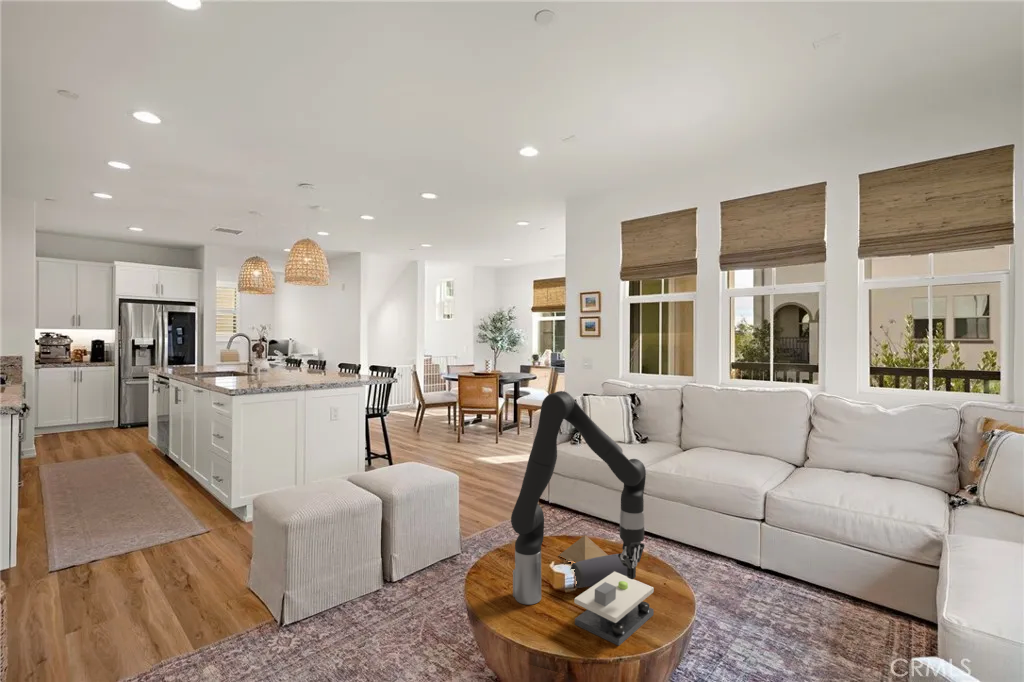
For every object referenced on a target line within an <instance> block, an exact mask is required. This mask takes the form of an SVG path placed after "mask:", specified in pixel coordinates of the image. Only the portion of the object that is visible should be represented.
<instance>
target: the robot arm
mask: <svg viewBox="0 0 1024 682" xmlns="http://www.w3.org/2000/svg"><path fill="white" fill-rule="evenodd" d="M541 403H542V404H541V405H540V413H539V418H538V426H537V429H536V432H535V436H534V440H533V442H532V443H533V444H532V447H531V451H530V453H529V457H528V461H527V465H526V469H525V473H524V477H523V480H522V484H521V488H520V491H519V495H518V497H517V499H516V503H515V505H514V508H513V509H512V512H511V515H510V523H511V527H512V529H513V531H514V532H515V533H517V535H518V536H517V538H516V540H515V542H514V569H513V570H512V597H513V598H515V600H516V602H517V603H519V604H522V605H534V604H537V603H539V602H541V600H542V545H543V542H544V538H545V537H544V536H545V535H544V534H545V533H544V532H545V516H544V515H545V514H544V511H543V508H542V507H541V506H540V504H538V503H539V501H540V499H541V496H542V495H543V493H544V492H545V489H546V488H547V486H548V484H549V483H550V481H551V479H552V477H553V474H554V470H555V467H556V464H557V461H558V460H557V459H558V446H557V445H558V444H557V442H558V436H559V432H560V430H561V426H562V423H563V422H564V420H565V421H567V422H568V423H569V424H571V425H572V426H573V427H574V428H575V429H576V430H577V431H578V432H579V434H580V436H581V437H582V438H583V440H584V442H585V443H586V444H587V446H588V448H590V450H591V451H592V452H593V453H594V454H596V455H597V456H598V457H599V458H600V460H602V461H603V462H604V463H606V464H607V466H608V467H609V469H610V471H611V472H612V473H613V474H614V475H615V477H617V479H618V480H619V481H620V482H621V483H622V484H623V489H622V491H621V493H620V494H621V495H620V513H619V538H620V539H621V540H622V542H623V543H622V551H621V552H620V553H622V554H620V553H617V554H618V557H619V559H620V561H621V563H622V564H623V566H626V567H627V577H628V578H630V579H634V580H635V579H636V575H637V571H636V570H637V569H636V568H637V567H638V563H640V561H641V559H642V555H643V552H644V549H645V544H644V543H642V542H643V541H644V540H645V512H644V508H645V507H644V505H645V504H644V502H645V501H644V500H645V499H644V491H645V486H646V478H647V477H646V475H647V474H646V473H647V471H646V467H645V464H644V463H643V461H642V460H640V459H638V458H631V459H629V458H628V457H626V455H625V454H624V453H623V448H622V447H621V446H620V445H619V444H618V443H617V442H616V441H614V439H613V438H611V437H610V436H609V434H607V433H606V432H605V431H604V430H602V429H601V428H600V427H599V426H598V425H597V423H595V421H594V420H593V419H591V417H590V416H589V415H588V414H587V413H586V412H585V410H584V409H583V408H582V407H581V406H580V405H579V404H578V402H577V401H576V399H575V398H573V396H572V395H571V394H569V393H568V392H567V391H562V390H561V391H560V390H559V391H555V392H553V393H549V394H547V395H546V396H545V398H544V399H543V401H542V402H541Z"/></svg>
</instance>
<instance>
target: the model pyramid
mask: <svg viewBox="0 0 1024 682" xmlns="http://www.w3.org/2000/svg"><path fill="white" fill-rule="evenodd" d="M607 555H608V553H606V552H605V551H604V550H603V549H602V548H600V546H599V545H597V544H596V542H594V541H592V540H591V539H590V538H589V537H588V535H586V534H584V535H582V537H580V538H579V539H578V540H577V541H575V542H574V543H572V544H571V545H570V546H568V547H567V548H566V549H565V550H563V551H562V552H561V553H560V554H558V555H557V557H558V556H561V557H563V558H565V559H566V560H567V561H574V562H579V561H583V560H587V559H591V558H596V557H601V556H607ZM566 560H565V561H566ZM567 561H566V562H567Z"/></svg>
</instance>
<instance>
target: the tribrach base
mask: <svg viewBox="0 0 1024 682" xmlns="http://www.w3.org/2000/svg"><path fill="white" fill-rule="evenodd" d="M654 611H655V610H654V608H652V607H650V604H649V602H646V601H642V602H641V603H640V604H638V605H637V606H636V607H635V608H634V609H632V610H631V611H630V612H629V613H627V614H626V615H625V616H624V617H623V618H621V619H620V620H619V621H618V622H617V623H614V622H612V621H610V620H608V619H606V618H604V617H602V616H600V615H598V614H596V613H594V612H592V611H590V610H588V609H586V610H585V611H583V612H582V613H580V614H579V615H578V616H576V617H575V618H574V625H575V626H577V627H579V628H581V629H583V630H584V631H588V632H589V633H591V634H593V635H595V636H597V637H599V638H601V639H604V640H605V641H607V642H610V643H612V644H614V645H615V646H618V647H620V645H621V644H623V643H624V642H625V641H626V640H627V639H629V637H630V636H632V635H633V634H634V633H635V632H636V631H637V630H639V628H641V627H642V626H643V625H644V624H645V623H646V622H647V621H649V620H650V619H651V618H652V617H653V616H654Z"/></svg>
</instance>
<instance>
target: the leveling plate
mask: <svg viewBox="0 0 1024 682" xmlns="http://www.w3.org/2000/svg"><path fill="white" fill-rule="evenodd" d="M654 589H655V588H654V587H653V586H650V585H649V584H646V583H644V582H641V581H639V580H636V579H635V578H634V579H630V578H628V577H627V576H624V575H622V574H620V573H617V572H615V571H614V572H613V573H611V574H610V575H608V576H607V577H605V578H604V579H602V580H601V581H600V582H598V583H597V584H595V585H594V586H592V587H588V589H586V590H585V591H583V592H582V593H580V594H579V595H577V596H576V597H575V598H574V604H575V605H578V606H580V607H582V608H583V609H586V610H587V609H588V610H590V611H592V612H594V613H596V614H598V615H600V616H602V617H604V618H606V619H608V620H610V621H612V622H614V623H617V622H618V621H619V620H620V619H621V618H623V617H624V616H625V615H626V614H627V613H629V612H630V611H631V610H632V609H634V608H635V607H636V606H637V605H638V604H640V603H641V602H644V600H646V599H647V598H648V597H650V595H652V594H653V593H654Z"/></svg>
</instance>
